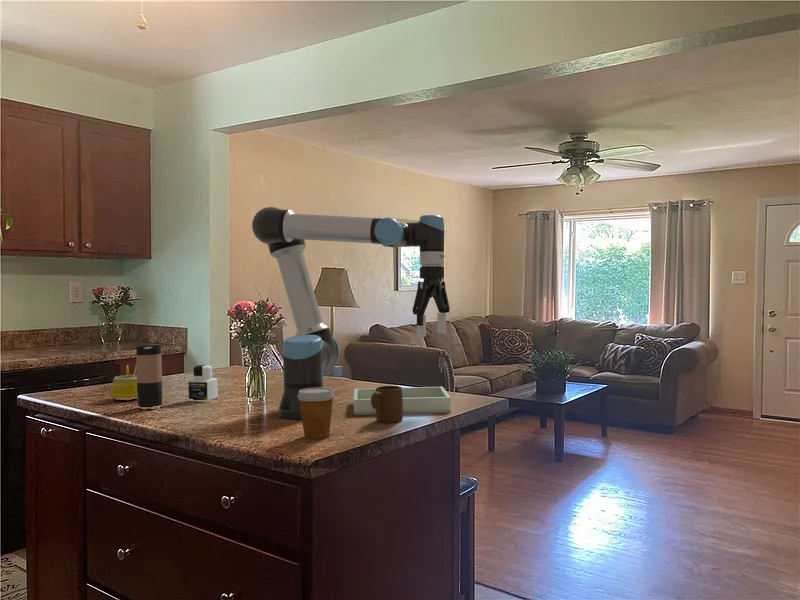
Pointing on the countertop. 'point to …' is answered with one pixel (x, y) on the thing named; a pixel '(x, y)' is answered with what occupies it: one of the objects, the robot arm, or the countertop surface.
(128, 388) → the yellow birthday cake
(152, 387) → the travel mug
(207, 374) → the medicine bottle
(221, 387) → the countertop surface
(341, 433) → the countertop surface
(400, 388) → the mug
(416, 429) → the countertop surface
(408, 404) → the box
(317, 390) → the disposable coffee cup
